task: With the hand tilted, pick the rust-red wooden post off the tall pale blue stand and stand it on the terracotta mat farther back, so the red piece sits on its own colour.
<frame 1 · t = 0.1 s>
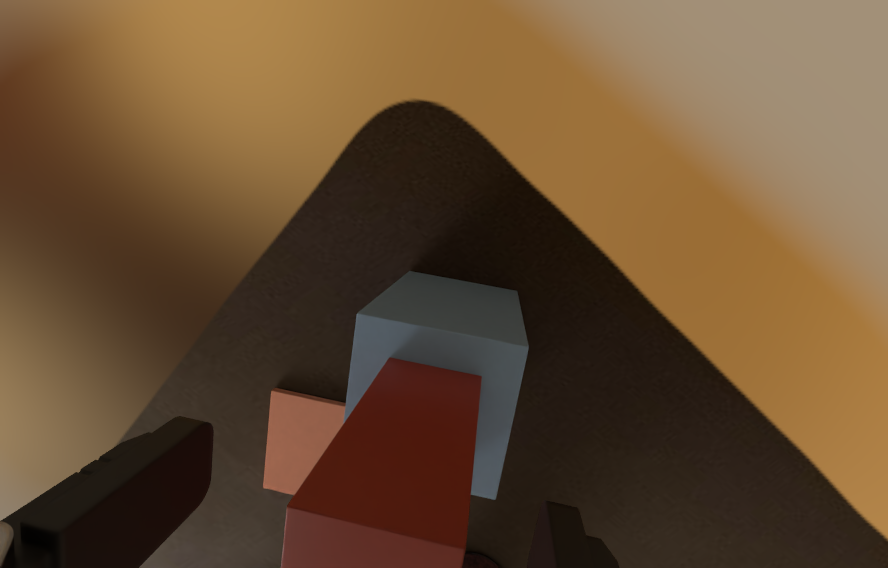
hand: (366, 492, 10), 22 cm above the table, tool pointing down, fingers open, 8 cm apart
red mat: (322, 448, 35), on the table
red post: (427, 409, 20), point 12 cm above the table, touching blue stand
blue stand: (453, 332, 32), on the table
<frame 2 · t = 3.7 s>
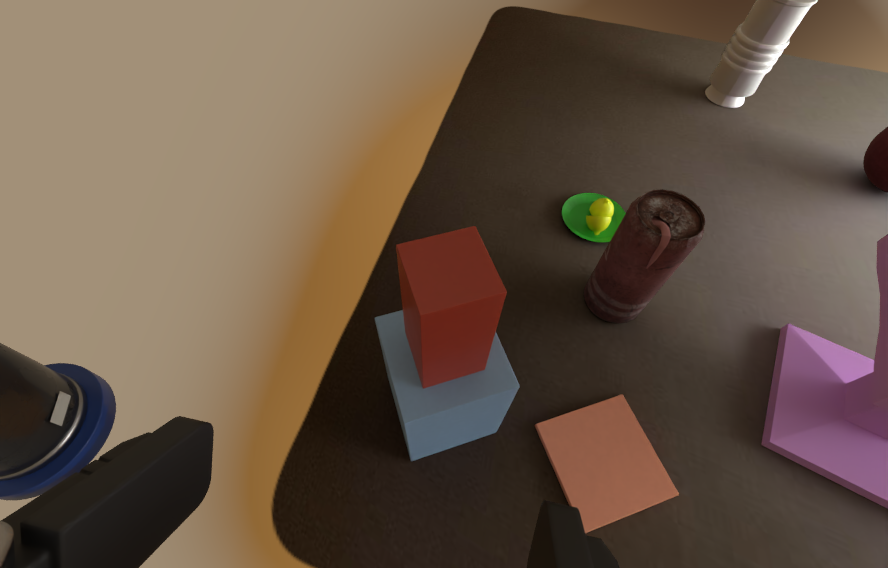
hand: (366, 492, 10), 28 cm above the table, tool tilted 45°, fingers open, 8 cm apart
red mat: (602, 459, 38), on the table
red post: (444, 350, 30), point 12 cm above the table, touching blue stand
brown drink cup: (609, 302, 47), on the table
decorative ball: (882, 186, 58), on the table
green plate with lemons: (592, 221, 53), on the table
blue stand: (440, 404, 40), on the table
vase: (847, 418, 40), on the table
white ridged cylinder: (723, 97, 68), on the table
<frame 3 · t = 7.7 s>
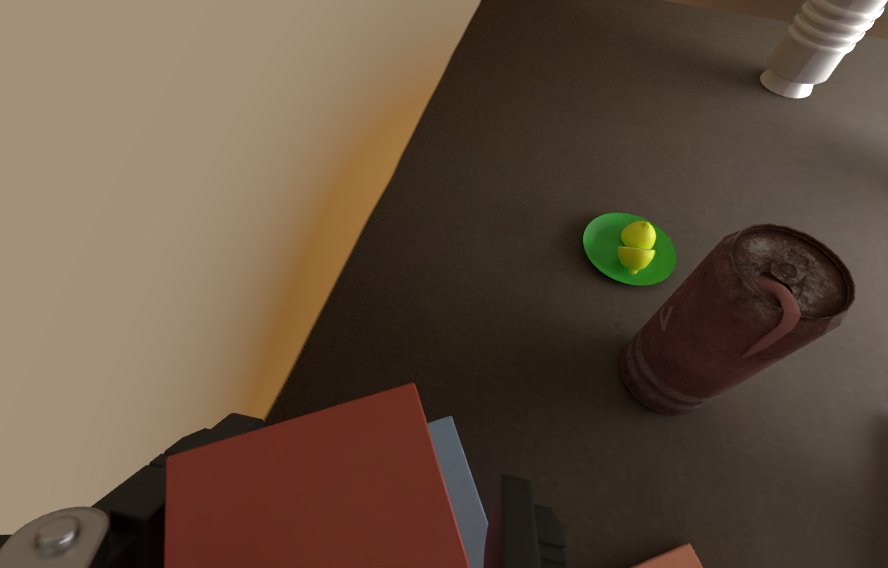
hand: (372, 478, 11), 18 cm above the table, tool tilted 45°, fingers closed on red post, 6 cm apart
red post: (379, 560, 15), point 12 cm above the table, touching blue stand, gripper
brown drink cup: (657, 378, 32), on the table
green plate with lemons: (625, 252, 38), on the table
blue stand: (400, 561, 25), on the table
white ridged cylinder: (783, 85, 53), on the table
when the fingers open (7 cm above the table, at t = 18.1 s): red post stays where it is, resting on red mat.
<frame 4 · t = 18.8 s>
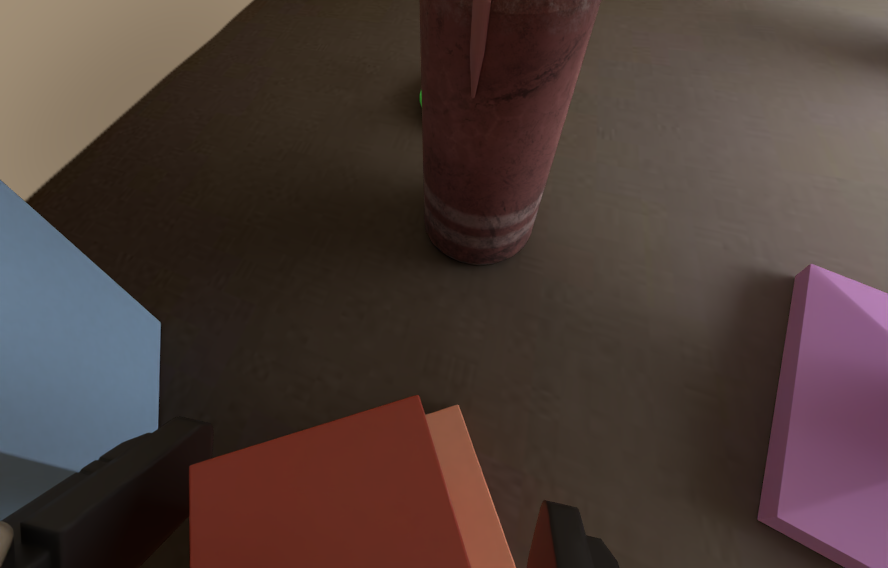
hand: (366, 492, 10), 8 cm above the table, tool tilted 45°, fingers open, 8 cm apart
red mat: (384, 558, 16), on the table
red post: (384, 560, 16), point 1 cm above the table, touching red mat
brown drink cup: (476, 231, 25), on the table
blue stand: (58, 426, 18), on the table
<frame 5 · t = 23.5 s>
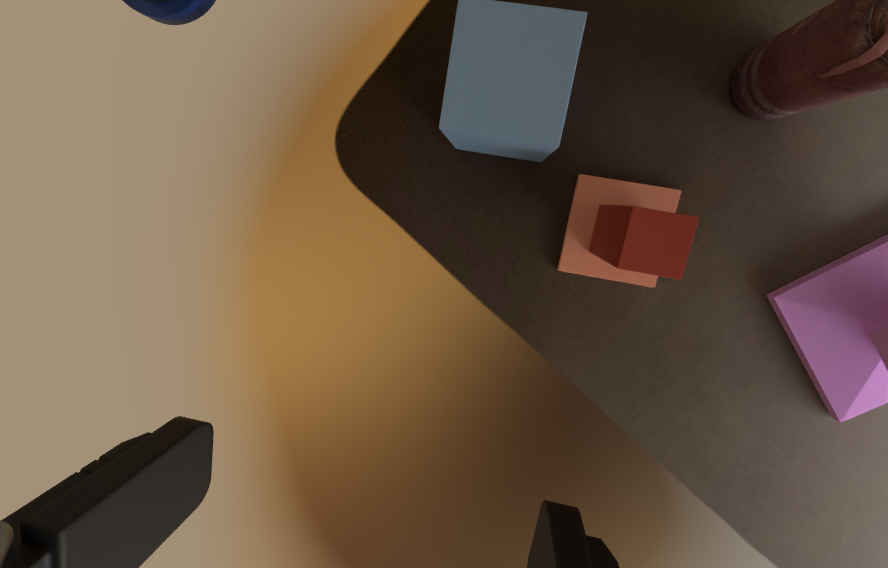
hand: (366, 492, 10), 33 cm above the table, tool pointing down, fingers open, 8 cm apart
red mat: (615, 231, 40), on the table
red post: (618, 232, 39), point 1 cm above the table, touching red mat
brown drink cup: (764, 85, 36), on the table
blue stand: (506, 110, 39), on the table
vase: (874, 320, 39), on the table
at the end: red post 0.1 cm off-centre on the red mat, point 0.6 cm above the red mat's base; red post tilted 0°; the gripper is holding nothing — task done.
